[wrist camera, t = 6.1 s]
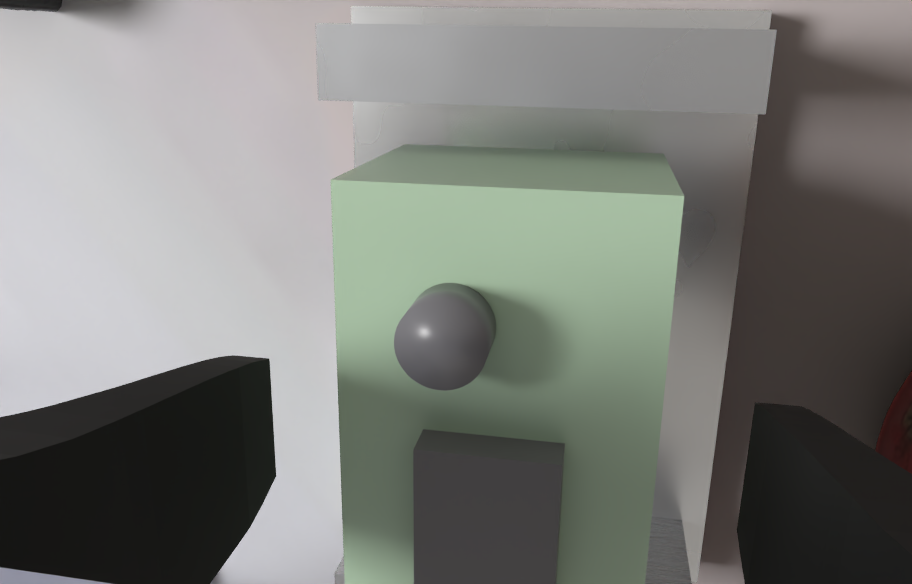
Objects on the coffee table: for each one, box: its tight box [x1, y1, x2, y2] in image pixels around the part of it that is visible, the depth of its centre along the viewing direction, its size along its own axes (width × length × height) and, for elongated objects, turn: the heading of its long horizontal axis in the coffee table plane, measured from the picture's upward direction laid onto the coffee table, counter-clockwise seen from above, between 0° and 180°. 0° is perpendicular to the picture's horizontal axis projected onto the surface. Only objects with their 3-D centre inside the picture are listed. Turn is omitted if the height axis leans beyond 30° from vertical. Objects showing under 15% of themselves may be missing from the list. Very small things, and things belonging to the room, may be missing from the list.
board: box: [331, 144, 684, 584], centre depth 13 cm, size 7×4×5 cm, turn 179°
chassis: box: [315, 6, 777, 584], centre depth 16 cm, size 12×8×4 cm, turn 179°
